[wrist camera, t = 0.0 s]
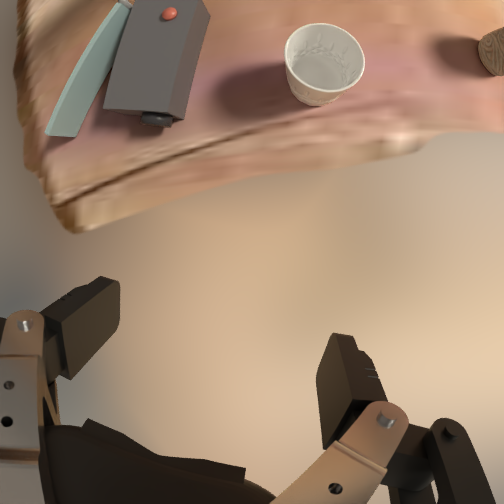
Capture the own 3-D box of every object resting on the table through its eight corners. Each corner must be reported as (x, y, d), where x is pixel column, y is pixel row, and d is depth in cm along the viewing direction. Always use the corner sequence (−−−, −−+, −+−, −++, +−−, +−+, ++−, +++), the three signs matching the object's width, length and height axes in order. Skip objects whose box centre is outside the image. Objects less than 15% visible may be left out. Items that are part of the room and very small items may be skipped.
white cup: (276, 61, 33) (274, 29, 23) (335, 52, 32) (351, 19, 22) (292, 116, 35) (295, 98, 25) (352, 106, 34) (374, 87, 24)
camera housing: (152, 16, 32) (133, -2, 25) (210, 16, 31) (198, -6, 25) (123, 124, 37) (98, 118, 30) (181, 129, 36) (162, 123, 30)
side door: (136, 13, 31) (117, -4, 25) (145, 15, 31) (126, -3, 25) (68, 132, 37) (41, 130, 31) (75, 137, 37) (48, 135, 31)
